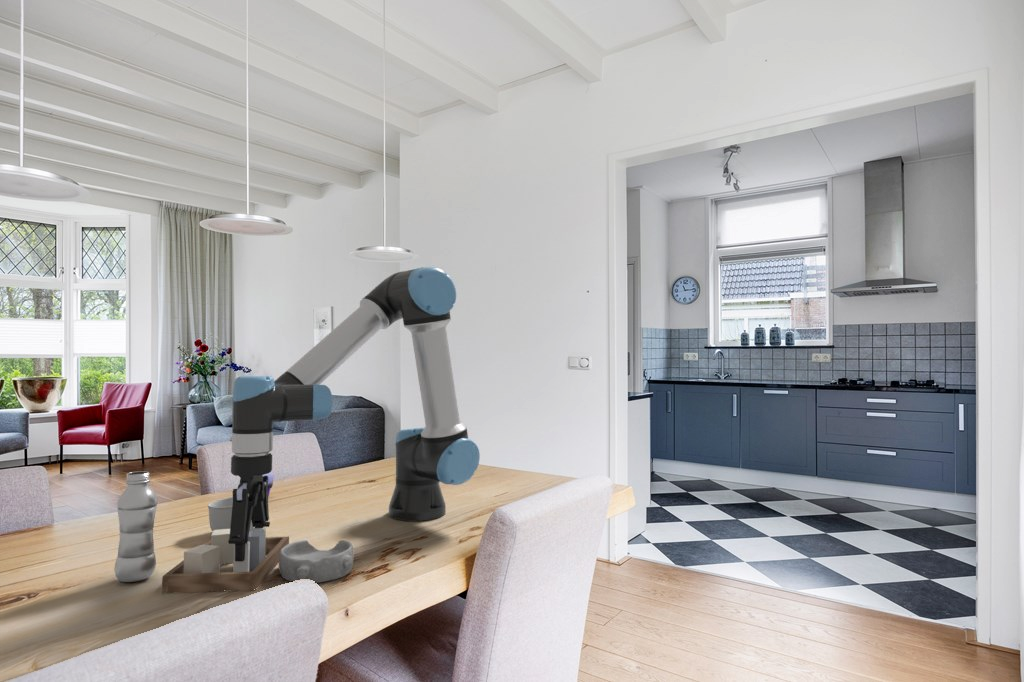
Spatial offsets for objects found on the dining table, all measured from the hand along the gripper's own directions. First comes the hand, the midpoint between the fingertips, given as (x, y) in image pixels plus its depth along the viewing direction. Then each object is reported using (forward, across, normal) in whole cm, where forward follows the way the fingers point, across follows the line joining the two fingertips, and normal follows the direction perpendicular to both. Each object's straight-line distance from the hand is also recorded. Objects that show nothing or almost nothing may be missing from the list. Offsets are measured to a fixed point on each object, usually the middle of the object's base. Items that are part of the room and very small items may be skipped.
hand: (249, 568), depth 117 cm
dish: (+1, +3, +14) cm, 14 cm away
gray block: (0, 0, 0) cm, 0 cm away
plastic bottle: (+1, +4, -19) cm, 20 cm away
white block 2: (0, -6, -7) cm, 9 cm away
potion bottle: (0, -58, -16) cm, 60 cm away
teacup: (0, -26, -11) cm, 28 cm away
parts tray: (0, 0, -3) cm, 3 cm away
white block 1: (0, +5, -7) cm, 9 cm away
